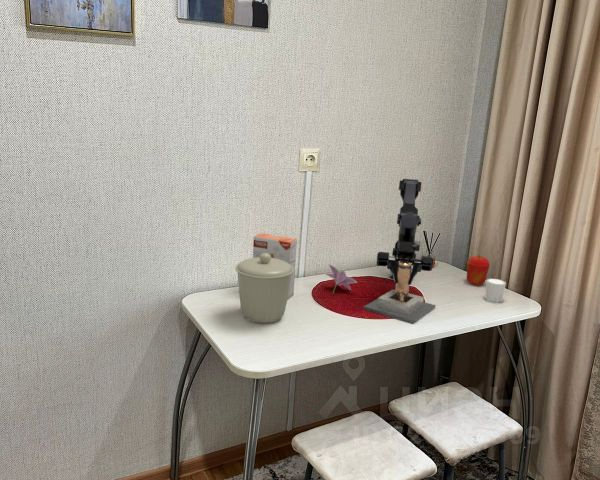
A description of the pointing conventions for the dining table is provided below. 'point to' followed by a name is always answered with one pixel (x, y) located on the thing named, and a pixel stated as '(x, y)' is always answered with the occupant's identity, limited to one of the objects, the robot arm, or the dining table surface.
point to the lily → (340, 278)
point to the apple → (477, 270)
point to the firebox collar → (400, 307)
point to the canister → (263, 288)
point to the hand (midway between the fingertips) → (402, 283)
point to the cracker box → (277, 251)
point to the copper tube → (403, 281)
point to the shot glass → (494, 290)
